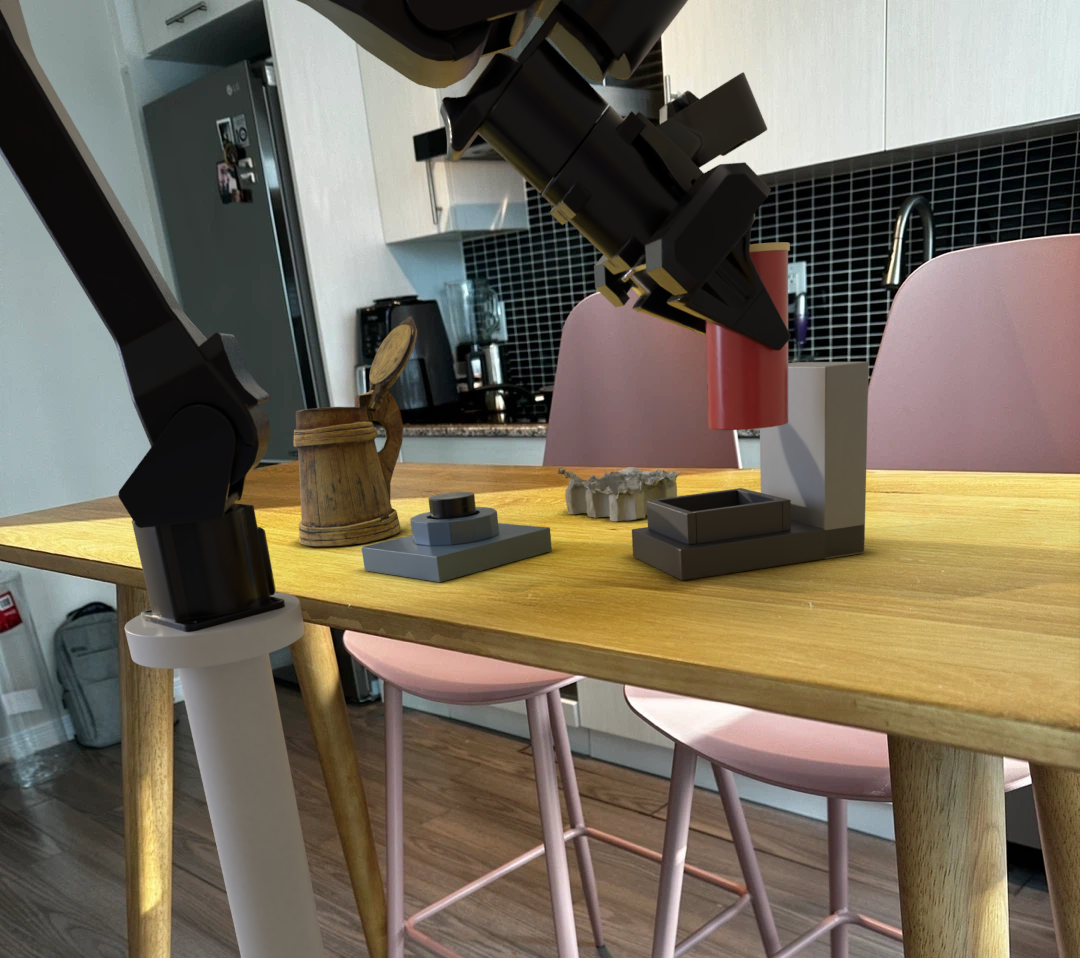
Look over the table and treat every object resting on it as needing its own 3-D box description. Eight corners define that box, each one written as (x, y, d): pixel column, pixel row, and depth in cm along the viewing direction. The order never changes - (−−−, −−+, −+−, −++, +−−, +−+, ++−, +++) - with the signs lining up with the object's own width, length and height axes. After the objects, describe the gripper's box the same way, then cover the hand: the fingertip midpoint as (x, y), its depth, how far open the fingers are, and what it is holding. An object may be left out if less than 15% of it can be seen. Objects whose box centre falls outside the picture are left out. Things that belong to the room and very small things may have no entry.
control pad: (440, 582, 71) (433, 532, 70) (364, 570, 77) (357, 524, 76) (552, 551, 78) (548, 504, 77) (474, 542, 84) (469, 499, 83)
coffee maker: (682, 580, 65) (674, 382, 61) (632, 557, 73) (622, 380, 69) (864, 553, 68) (869, 361, 64) (797, 533, 76) (797, 362, 72)
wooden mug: (462, 524, 93) (438, 311, 87) (323, 551, 86) (286, 322, 80) (416, 516, 100) (391, 319, 94) (284, 540, 93) (248, 329, 87)
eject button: (451, 524, 74) (448, 500, 73) (421, 522, 76) (419, 498, 76) (486, 516, 76) (483, 492, 76) (456, 514, 79) (454, 491, 78)
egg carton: (556, 513, 95) (552, 468, 93) (624, 500, 98) (621, 457, 97) (619, 524, 86) (615, 474, 85) (691, 510, 89) (689, 462, 88)
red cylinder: (751, 431, 60) (748, 243, 56) (690, 430, 64) (684, 254, 60) (807, 421, 63) (808, 241, 59) (745, 420, 66) (742, 251, 63)
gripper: (724, -38, 47) (942, 212, 51) (632, 68, 64) (802, 247, 69) (566, 169, 48) (791, 391, 53) (519, 218, 66) (692, 382, 71)
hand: (769, 344), depth 62 cm, fingers closed on red cylinder, 5 cm apart
